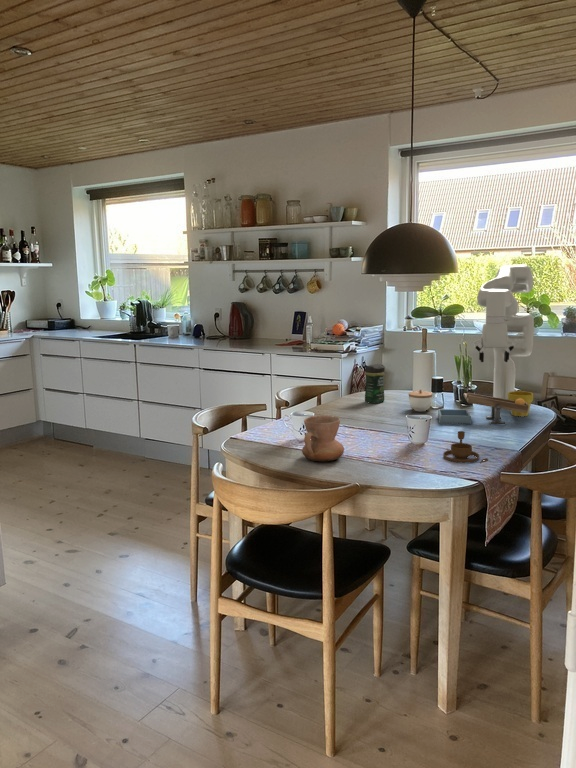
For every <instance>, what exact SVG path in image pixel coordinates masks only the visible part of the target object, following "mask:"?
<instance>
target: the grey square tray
mask: <svg viewBox="0 0 576 768" xmlns="http://www.w3.org/2000/svg"><path fill="white" fill-rule="evenodd" d="M437 418H438V422H439V425H471V421H472V420H471V414H470V412H469V410H468V409H455V408H454V409H450V408H449V409H447V408H446V409H445V408H444V409H443V408H442V409H437Z"/></svg>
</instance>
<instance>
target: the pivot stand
mask: <svg viewBox="0 0 576 768" xmlns="http://www.w3.org/2000/svg"><path fill="white" fill-rule="evenodd" d="M501 411H502V409H501V405H495V407H491V410H490V412H491V413H490V414H491V415H486V416H485V419H486V420H494V421H489V425H491V424H505V425H506V422H505V421H501V420H502V416H501Z"/></svg>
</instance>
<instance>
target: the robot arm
mask: <svg viewBox="0 0 576 768" xmlns="http://www.w3.org/2000/svg"><path fill="white" fill-rule="evenodd" d="M533 287H534V277H533V271H532V270H531V268H530V267H529V265H527V264H513V265H511V264H509V265H507V264H506V265H503V266H501V267H499V268H498V270H497V271H496V274H495V277H494V278H491V280H490V279H489V280H488V281H486V282H484V283H483V284H481V286H480V288H479V290H478V292H477V298H476V299H477V304H478V306H480V307H481V308H485V309H486V311H485V323H483V325H482V331H481V337H480V338H478V339H476V340H474V341H472V344H473V346H474V348H475V350H476V351H478V353H479V354H478V355H479V357H478V360H479V362H480V363H484V358H485V357H484V356H485V353H484V351H485V350H486V349H493V358H494V363H493V364H494V365H493V367H494V369H493V390H492V391H493V393H492V397H496V398H501V399H507V400H508V393H509V392H512V391H515V389H516V388H515V387H516V386H515V384H516V364H515V362H514V360H513V359H512V358H511V357H529V356H530V355H531V354H532V352H533V347H534V332H535V331H534V330H535V329H534V328H535V320H534V319H535V318H534V316H533V315H532V314H531V313H528V312H519V311H518V309H519V302H518V300H517V299H516V297H515V296H514V294H527V293H530V292H531V291H532V290H533ZM509 334H521V335H509ZM479 343H480V345H481V346H479V345H478V344H479Z"/></svg>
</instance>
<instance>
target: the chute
mask: <svg viewBox="0 0 576 768" xmlns="http://www.w3.org/2000/svg"><path fill="white" fill-rule="evenodd" d="M463 397H464V399H465V401H466V402H467V403H468V404H471V405H472V404H474V405H479V406H485V407H488V408H489V407H490V408H492V407H495V405H501V410H502V409H503V410H507V411H511V410H512V411H517V412H523V413H527V411H528V407H529V406H528V404H527V403H526V402H525V405H521V404H515V401H513V400H507V399H501V398H496V397H493V396H491V395H484V394H479V393H478V394H477V393H472V392H467V393H465V392H464V393H463Z"/></svg>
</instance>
